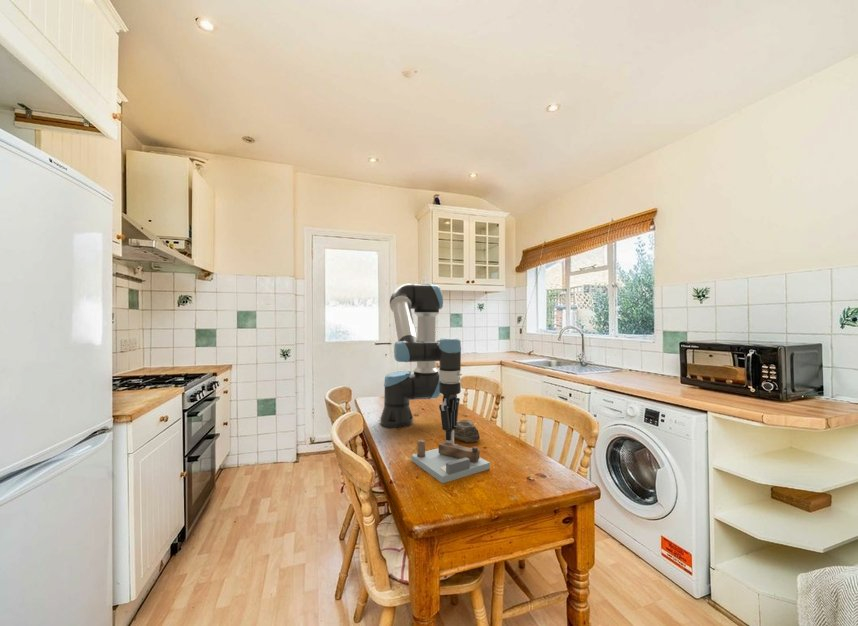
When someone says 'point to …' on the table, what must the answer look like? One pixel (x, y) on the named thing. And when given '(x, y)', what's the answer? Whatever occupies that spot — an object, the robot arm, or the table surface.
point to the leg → (459, 451)
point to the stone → (466, 431)
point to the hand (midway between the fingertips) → (449, 448)
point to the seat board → (441, 461)
